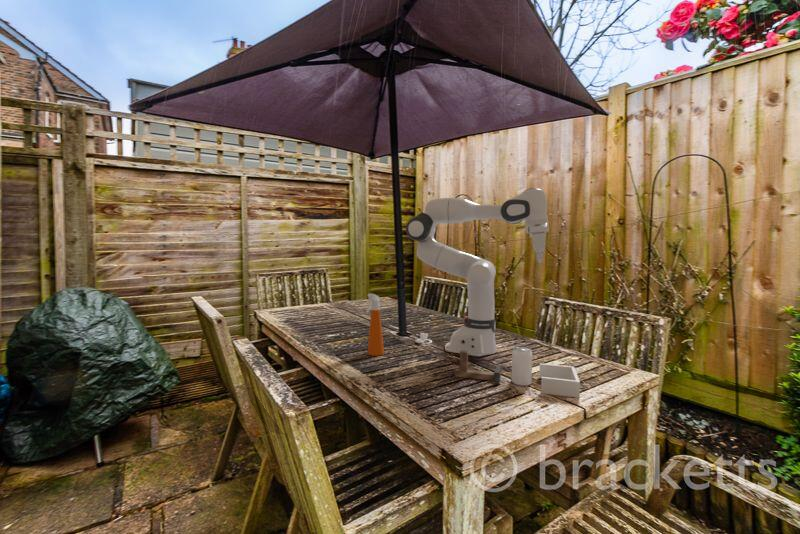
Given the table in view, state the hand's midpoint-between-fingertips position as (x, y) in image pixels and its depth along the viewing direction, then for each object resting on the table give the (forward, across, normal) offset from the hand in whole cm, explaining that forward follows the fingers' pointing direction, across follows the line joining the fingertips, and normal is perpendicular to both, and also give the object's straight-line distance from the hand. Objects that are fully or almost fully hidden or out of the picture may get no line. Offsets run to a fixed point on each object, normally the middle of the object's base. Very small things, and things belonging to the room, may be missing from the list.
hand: (539, 262), depth 150 cm
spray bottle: (+32, +20, -69) cm, 79 cm away
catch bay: (+39, +32, +2) cm, 51 cm away
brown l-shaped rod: (+36, +32, -25) cm, 55 cm away
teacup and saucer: (+34, -5, -57) cm, 66 cm away
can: (+38, +32, -10) cm, 51 cm away
